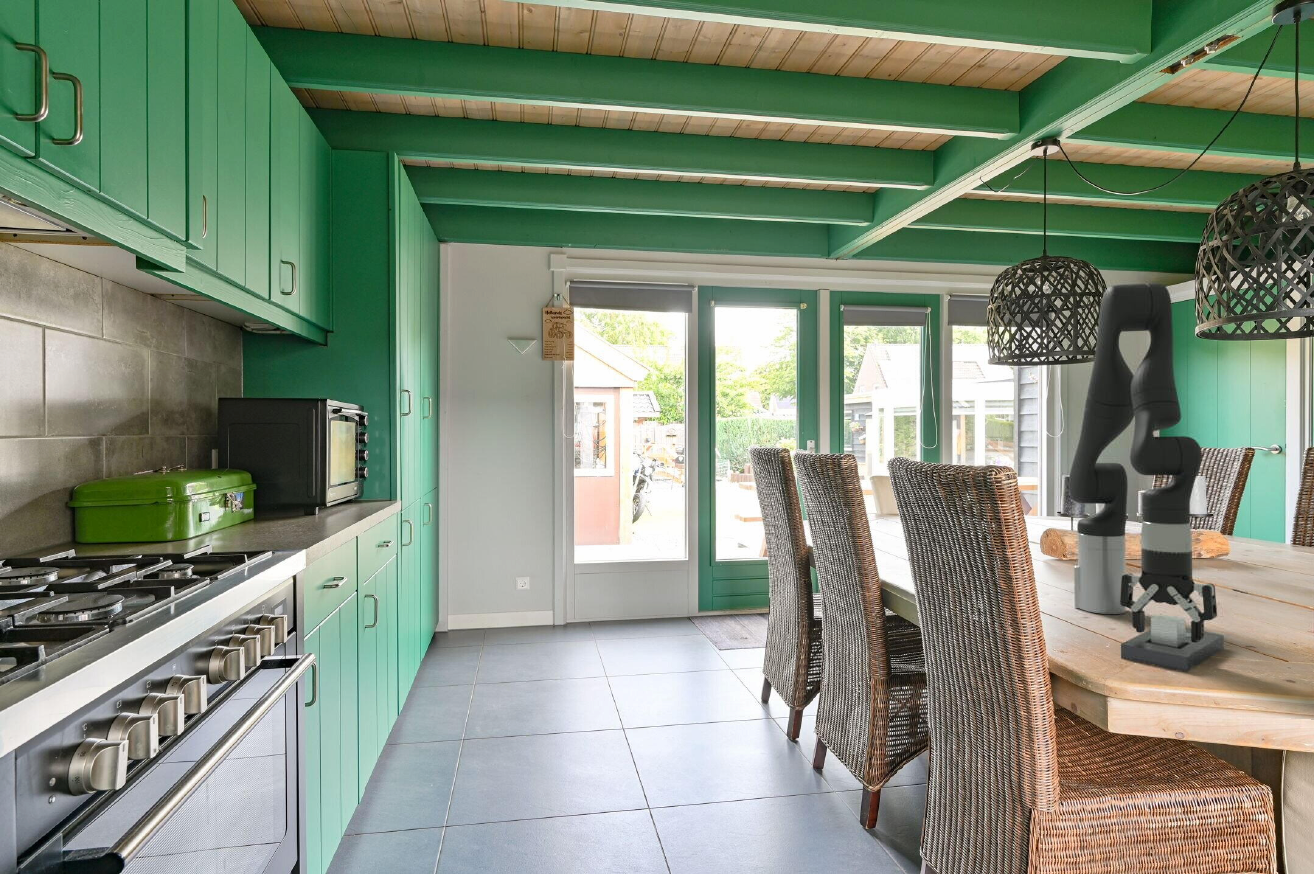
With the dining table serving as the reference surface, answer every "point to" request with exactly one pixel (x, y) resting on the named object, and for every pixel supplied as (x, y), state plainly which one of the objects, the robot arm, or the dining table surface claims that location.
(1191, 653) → the dark grey flat board
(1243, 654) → the dining table surface
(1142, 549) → the robot arm
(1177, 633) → the grey rectangular block
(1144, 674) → the dining table surface
